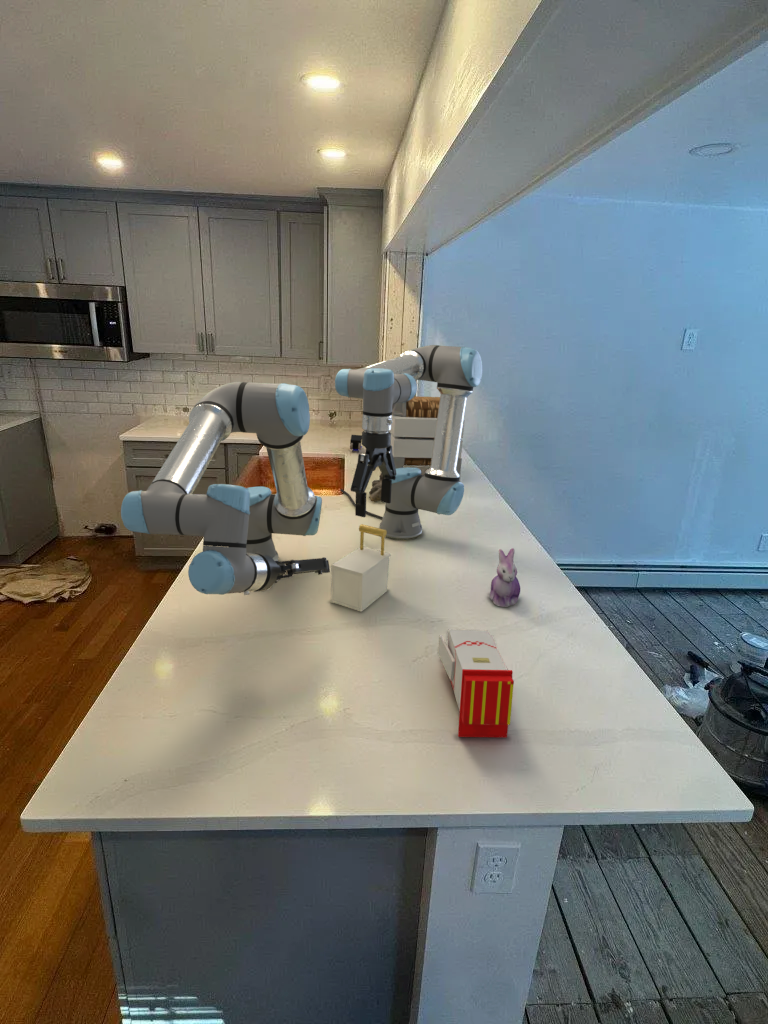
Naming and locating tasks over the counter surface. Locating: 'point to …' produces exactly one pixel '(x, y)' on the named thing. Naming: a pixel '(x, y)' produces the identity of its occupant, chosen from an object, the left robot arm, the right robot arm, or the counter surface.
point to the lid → (363, 554)
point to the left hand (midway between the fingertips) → (300, 571)
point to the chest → (359, 586)
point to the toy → (478, 682)
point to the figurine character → (355, 442)
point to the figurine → (505, 581)
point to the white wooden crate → (416, 432)
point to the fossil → (376, 489)
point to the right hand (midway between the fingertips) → (373, 509)
